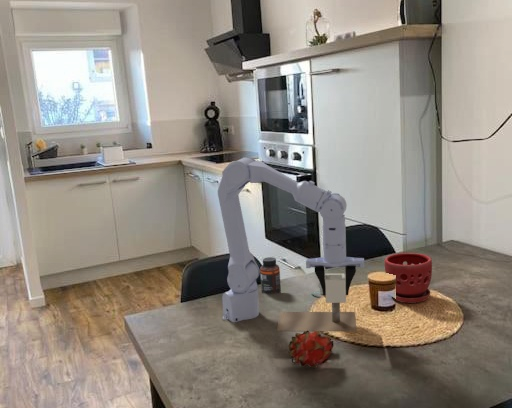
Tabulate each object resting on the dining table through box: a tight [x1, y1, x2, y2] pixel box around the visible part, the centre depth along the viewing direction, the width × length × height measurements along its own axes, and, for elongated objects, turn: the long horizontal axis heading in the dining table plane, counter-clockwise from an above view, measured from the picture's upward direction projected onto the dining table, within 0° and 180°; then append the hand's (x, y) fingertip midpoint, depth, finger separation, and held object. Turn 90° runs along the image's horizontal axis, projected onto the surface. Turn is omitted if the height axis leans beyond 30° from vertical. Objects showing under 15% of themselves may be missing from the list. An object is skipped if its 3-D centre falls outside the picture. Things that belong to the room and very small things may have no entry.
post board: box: [276, 303, 358, 332], centre depth 138 cm, size 20×12×6 cm, turn 83°
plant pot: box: [384, 252, 433, 304], centre depth 153 cm, size 13×13×12 cm
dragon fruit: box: [287, 331, 334, 369], centre depth 119 cm, size 8×8×12 cm
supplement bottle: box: [259, 256, 282, 294], centre depth 162 cm, size 6×6×11 cm
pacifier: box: [311, 282, 326, 298], centre depth 158 cm, size 7×6×6 cm
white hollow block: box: [325, 273, 347, 304], centre depth 136 cm, size 5×5×6 cm
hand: (335, 293), depth 136 cm, fingers closed on white hollow block, 5 cm apart
